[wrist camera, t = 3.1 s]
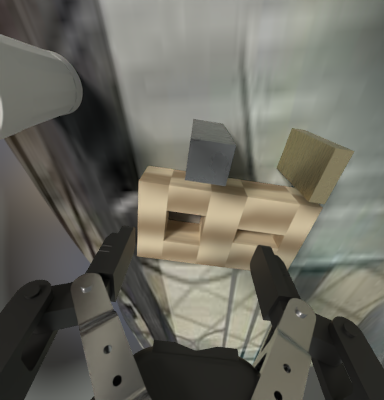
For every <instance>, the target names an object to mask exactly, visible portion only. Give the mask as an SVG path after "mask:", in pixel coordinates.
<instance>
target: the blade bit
mask: <svg viewBox="0 0 384 400" xmlns="http://www.w3.org/2000/svg"><path fill="white" fill-rule="evenodd" d="M353 153H354V151H352V150H350V149H348V148H345V147H343V146H341V145H338V144H336V143H334V142H331V141H329V140H327V139H324V138H322V137H320V136H317V135H315V134H313V133H310V132H308V131H305V130H301V129H295V128H292V130H291V132H290V135H289V138H288V140H287V143H286V146H285V148H284V151H283V153H282V156H281V159H280V161H279V164H278V166H277V169H278V170H279V171H280V172H281V173H282V174H283V175H284V176H285V177H286V178H287V179H288V180H289V182H290V183H291V184H292V185H293V186H294V187H295V188H296V189H297V190H298V191H299V192H300V193H301V194H302V195H303V196H304V198H305V199H306V200H307V201H308V202H313V203H319V204H325V203H326V201H327V199H328V197H329V196H330V194H331V192H332V190H333V188H334V187H335V185H336V183H337V181H338V180H339V178H340V176H341V174H342V172H343V171H344V169H345V167H346V165H347V164H348V162H349V160H350V158H351V156H352V155H353Z"/></svg>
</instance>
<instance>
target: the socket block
mask: <svg viewBox="0 0 384 400" xmlns="http://www.w3.org/2000/svg"><path fill="white" fill-rule="evenodd" d="M185 175H186V171H180V170H174V169H167V168H161V167H154V166H148V167H147V168H146V170H145V172H144V173H143V175H142V176H141V178H140V180H139V192H138V247H137V256H140V257H148V258H156V259H164V260H172V261H179V262H187V263H195V264H203V265H210V266H218V267H226V268H234V269H241V270H249V271H250V261H251V259H252V256H253V254H254V252H255V250H256V247H257V246H258V245H265V246H270V247H271V248H272V250H273V252H274V255H278V256H279V257H280V258H281V259H282V261H283V262H284V264H285V266H286V268H287V270H288V269H289V267H290V265H291V263H292V261H293V260H294V258H295V256H296V254H297V253H298V251H299V249H300V247H301V246H302V244H303V242H304V240H305V238H306V237H307V235H308V233H309V231H310V230H311V228H312V226H313V224H314V222H315V221H316V219H317V217H318V215H319V214H320V212H321V210H322V207H321V206H320V205H319V204H318V203H313V202H308V201H307V200H306V199H305V198H304V196H303V195H302V194H301V193H300V192H299V191H298V190H297V189H296V188H293V187H286V186H280V185H273V184H266V183H260V182H253V181H247V180H240V179H233V178H228V179H227V183H226V186H220V185H214V184H207V183H200V182H193V181H187V180H185ZM169 211H173V212H180V213H187V214H194V215H201V219H200V224H196V223H189V222H182V221H175V220H168V217H169Z"/></svg>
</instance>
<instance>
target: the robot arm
mask: <svg viewBox="0 0 384 400" xmlns="http://www.w3.org/2000/svg"><path fill="white" fill-rule="evenodd" d="M134 249H135V227H129V226H122V227H121V229H120V231H119V233H112V234H110V235H109V236H108V237H106V239H105V240H104V242H103V244H102V246H101V247H100V249H99V251H98V252H97V254H96V256H95V258H94V259H93V261H92V263H91V264H90V266H89V268H88V270H87V271H86V273H85V274H83V275H81V276H79V277H78V278H77V279H75V280H74V282H71V283H67V284H61V285H55V286H51V284H50V283H49V282H48V281H45V280H35V281H32V282H29V283H27V284H26V285H24V286H23V287H21V288H20V289H19V290H18V291H17V292H16V293H15V295H14V296H13V297H12V298H11V300H10V301H9V302H8V304H7V305H6V306H5V308H4V309H3V310H2V312H1V313H0V400H24V399H25V397H26V394H27V392H28V391H29V388H30V387H31V384H32V382H33V380H34V378H35V376H36V374H37V372H38V370H39V368H40V366H41V364H42V362H43V360H44V358H45V356H46V354H47V352H48V350H49V348H50V346H51V344H52V342H53V340H54V338H55V336H56V334H57V332H58V330H59V329H64V328H68V327H72V326H77V325H79V330H80V335H81V340H82V344H83V348H84V353H85V357H86V361H87V366H88V370H89V375H90V379H91V383H92V388H93V392H94V397H93V398H92V399H91V400H302V399H303V394H304V390H305V386H306V381H307V377H308V372H309V368H310V364H311V360H312V363H313V366H314V368H315V371H316V374H317V377H318V380H319V383H320V386H321V389H322V392H323V394H324V397H325V400H384V369H383V367H382V365H381V364H380V362H379V360H378V359H377V357H376V355H375V353H374V352H373V350H372V348H371V347H370V345H369V343H368V342H367V340H366V338H365V336H364V335H363V333H362V332H361V330H360V329H359V328H358V327H357V326H356V325H355V324H354V323H353V322H352V321H350V320H348V319H346V318H344V317H335V318H334V319H333V320H329V319H327V318H325V317H322V316H320V315H318V314H316V313H315V312H314V311H313V309H312V308H311V307H310V305H308V304H307V303H306V302H305V301H303V300H301V299H300V296H299V294H298V292H297V290H296V288H295V285H294V283H293V281H292V279H291V277H290V275H289V272H288V271H287V268H286V266H285V264H284V262H283V261H282V259H281V258H280V257H279V256H278V255H274V252H273V250H272V248H271V247H270V246H265V245H258V246H257V247H256V250H255V252H254V254H253V256H252V259H251V261H250V271H251V275H252V279H253V283H254V286H255V290H256V294H257V298H258V302H259V305H260V309H261V313H262V317H263V320H268V321H271V324H272V326H271V327H270V329H269V332H268V334H267V336H266V338H265V341H264V343H263V345H262V347H261V350H260V352H259V354H258V356H257V358H256V360H255V362H254V363H253V365H251V364H250V363H249V362H247V361H246V360H244V359H243V358H241V357H239V356H238V351H237V349H233V348H224V347H214V348H209V349H204V350H199V351H195V350H192V349H190V348H187V347H185V346H183V345H180V344H178V343H176V342H168V341H159V340H154V344H153V346H152V347H148V348H145V349H143V350H141V351H139V352H137V353H136V354H134V355H133V354H132V351H131V348H130V346H129V343H128V341H127V338H126V336H125V333H124V330H123V328H122V325H121V322H120V320H119V317H118V315H117V313H116V311H114V309H113V307H112V304H111V302H110V301H112V302H116V299H117V297H118V294H119V291H120V288H121V286H122V283H123V280H124V278H125V275H126V272H127V270H128V267H129V264H130V262H131V259H132V256H133V253H134ZM342 362H343V363H342ZM343 364H344V365H343ZM344 366H345V367H344ZM346 371H347V372H346ZM347 373H348V374H347ZM348 375H349V376H348ZM349 377H350V378H349ZM351 382H352V383H351Z"/></svg>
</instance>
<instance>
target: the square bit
mask: <svg viewBox="0 0 384 400" xmlns="http://www.w3.org/2000/svg"><path fill="white" fill-rule="evenodd" d="M235 149H236V144H235V142H234V141H233V139H232V138H231V136H230V134H229V133H228V131H227V130H226V128H225V126H224V125H223V124H221V123H215V122H209V121H203V120H197V119H194V120H193V127H192V134H191V141H190V148H189V155H188V161H187V168H186V175H185V180H187V181H193V182H200V183H207V184H214V185H220V186H226V183H227V179H228V175H229V172H230V168H231V164H232V160H233V156H234V152H235Z"/></svg>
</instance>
